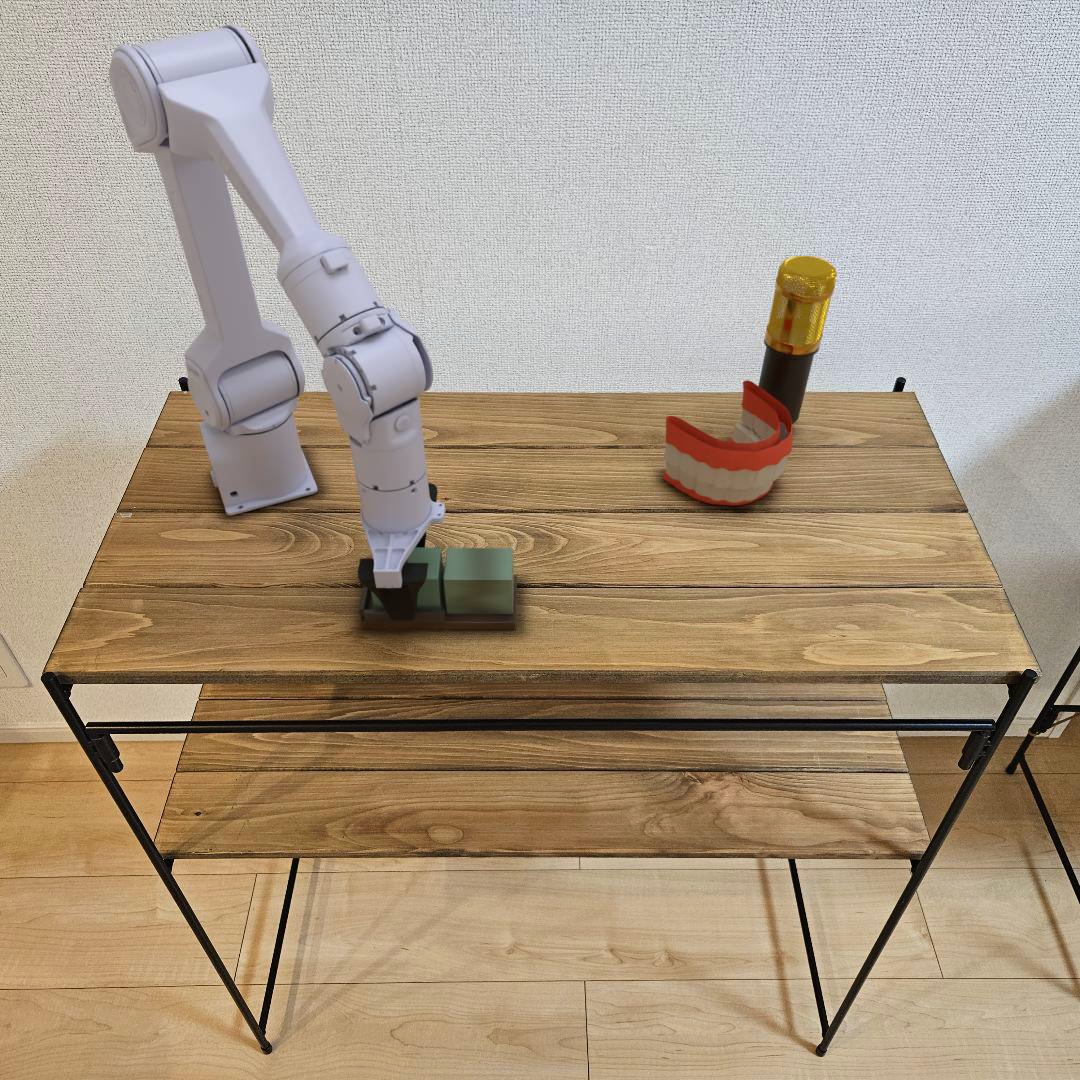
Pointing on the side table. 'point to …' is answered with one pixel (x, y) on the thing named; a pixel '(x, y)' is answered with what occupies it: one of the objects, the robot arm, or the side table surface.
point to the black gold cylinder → (796, 328)
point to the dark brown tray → (462, 595)
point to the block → (434, 583)
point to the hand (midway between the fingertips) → (407, 585)
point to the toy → (731, 453)
